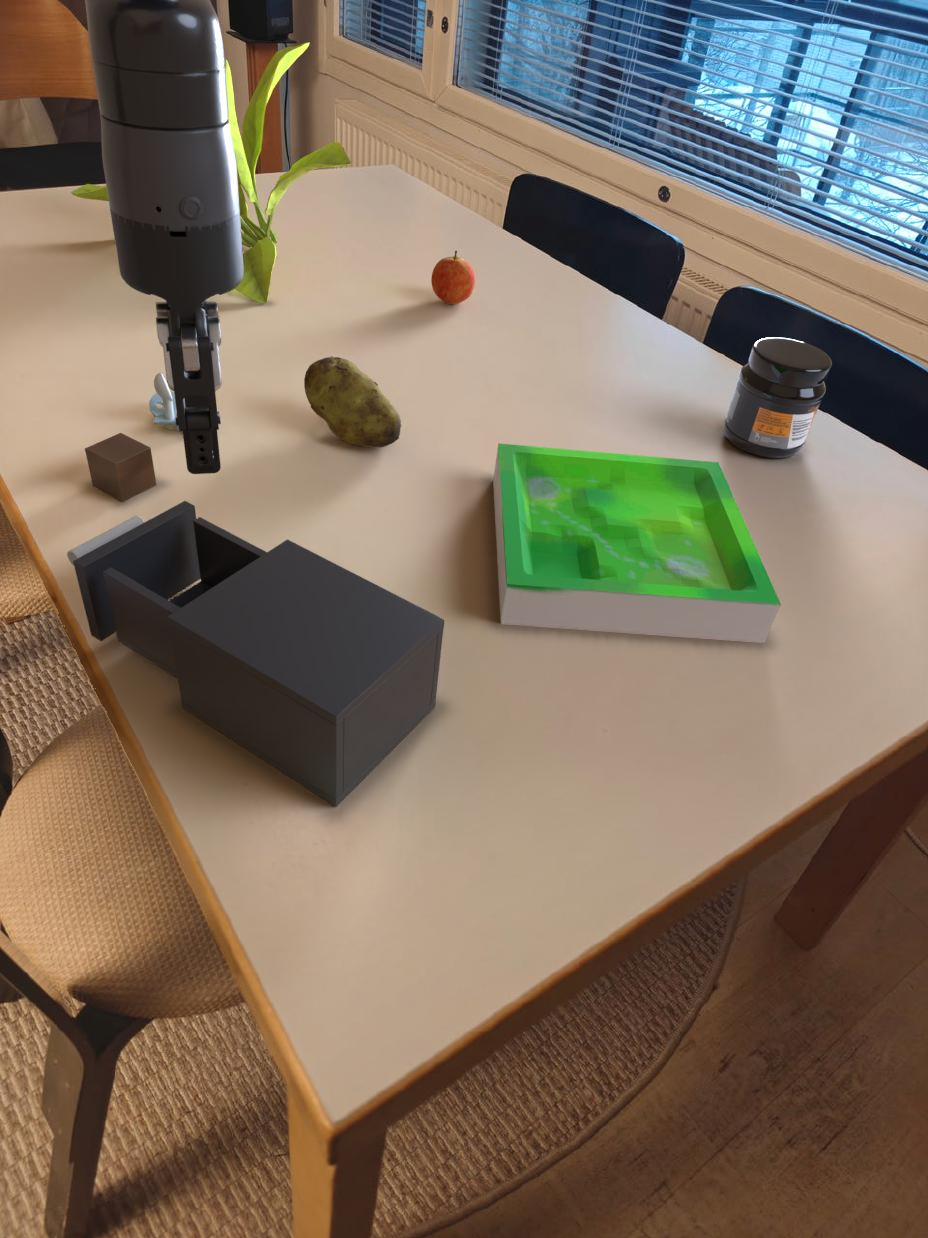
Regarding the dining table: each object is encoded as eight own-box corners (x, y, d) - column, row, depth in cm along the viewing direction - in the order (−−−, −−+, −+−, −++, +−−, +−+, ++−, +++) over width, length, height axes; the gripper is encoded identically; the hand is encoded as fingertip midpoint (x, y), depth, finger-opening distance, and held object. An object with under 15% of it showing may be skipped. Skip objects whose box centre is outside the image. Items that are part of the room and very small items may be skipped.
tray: (706, 499, 100) (718, 462, 97) (763, 644, 81) (780, 604, 78) (492, 482, 98) (498, 443, 95) (500, 625, 80) (507, 583, 76)
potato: (345, 465, 98) (345, 400, 92) (295, 415, 105) (293, 352, 100) (407, 450, 101) (411, 387, 96) (355, 403, 109) (356, 342, 104)
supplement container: (804, 468, 108) (841, 378, 100) (720, 451, 109) (750, 361, 101) (799, 430, 115) (832, 344, 108) (720, 414, 117) (748, 328, 109)
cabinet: (182, 708, 68) (167, 616, 62) (291, 627, 76) (287, 538, 70) (336, 807, 62) (336, 717, 56) (435, 707, 70) (445, 619, 64)
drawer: (56, 613, 73) (35, 538, 68) (161, 552, 81) (149, 481, 76) (217, 715, 66) (207, 641, 61) (315, 639, 74) (313, 567, 69)
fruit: (466, 313, 135) (471, 261, 130) (424, 305, 136) (428, 253, 131) (477, 299, 140) (483, 248, 135) (436, 291, 141) (440, 240, 136)
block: (122, 502, 88) (114, 464, 85) (92, 486, 90) (84, 448, 87) (156, 484, 91) (150, 447, 88) (127, 469, 93) (120, 432, 90)
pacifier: (200, 407, 105) (148, 410, 102) (196, 358, 101) (142, 360, 99) (210, 436, 100) (156, 440, 98) (207, 386, 96) (151, 389, 94)
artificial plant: (153, 250, 160) (25, 103, 135) (347, 116, 154) (250, -63, 129) (196, 389, 137) (51, 243, 113) (425, 238, 132) (326, 50, 107)
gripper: (112, 166, 56) (147, 396, 66) (103, 239, 46) (146, 497, 56) (231, 170, 58) (247, 393, 68) (248, 241, 48) (263, 490, 58)
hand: (201, 440), depth 62 cm, fingers open, 8 cm apart
